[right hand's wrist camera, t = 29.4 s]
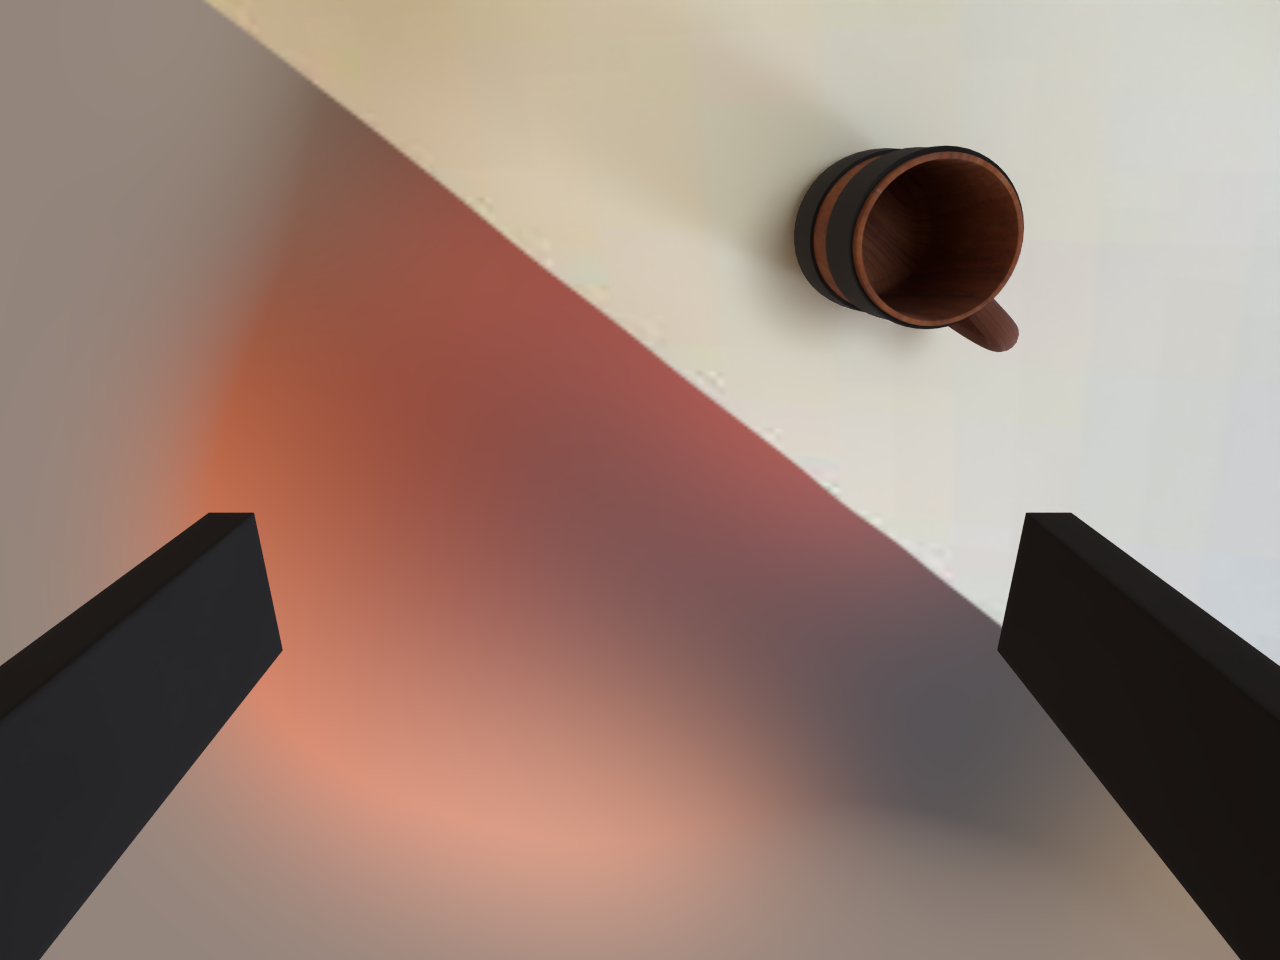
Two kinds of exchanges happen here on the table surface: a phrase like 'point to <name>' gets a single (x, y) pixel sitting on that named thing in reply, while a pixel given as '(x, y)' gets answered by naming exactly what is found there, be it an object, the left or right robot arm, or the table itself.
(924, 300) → the mug
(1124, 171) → the table surface
